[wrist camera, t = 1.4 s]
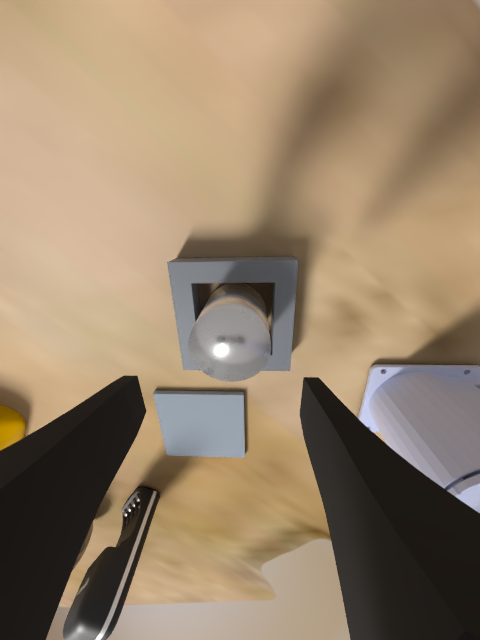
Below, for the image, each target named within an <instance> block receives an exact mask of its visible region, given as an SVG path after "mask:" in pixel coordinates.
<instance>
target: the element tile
mask: <svg viewBox="0 0 480 640" xmlns="http://www.w3.org/2000/svg"><path fill="white" fill-rule="evenodd" d="M25 430H26V423H25V420H24V419H23V417H22V416H21V415H20V414H18V413H17V412H15V411H14V410H12V409H10V408H8V407H5V406H3V405H0V451H1V450H3V449H4V448H6V447H8V446H10V445H12V444H14V443H15V442H17V441H19V440H21V439H23V438H24V435H25Z"/></svg>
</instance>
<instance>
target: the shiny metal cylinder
mask: <svg viewBox="0 0 480 640" xmlns="http://www.w3.org/2000/svg"><path fill="white" fill-rule="evenodd" d="M188 348H189V353H190V355H191V358H192V360H193V361H194V363H195V364H196V366H197V367H198V368H199V369H200V370H201V371H203V372H204V373H205V374H207V375H209V376H210V377H212V378H215V379H218V380H222V381H230V382H233V381H241V380H245V379H248V378H251V377H252V376H254V375H256V374H257V373H259V372H260V371H261V370H262V369H263V368H264V366H265V365H266V363H267V362H268V360H269V357H270V354H271V340H270V334H269V327H268V321H267V315H266V309H265V304H264V301H263V299H262V297H261V296H260V294H259V293H258V292H257V291H256V290H255V289H253V288H252V287H250V286H248V285H245V284H242V283H229V284H225V285H223V286H221V287H219V288H218V289H216V290H215V291H214V292H213V293H212V295H211V296H210V298H209V300H208V301H207V303H206V305H205V307H204V308H203V310H202V312H201V314H200V315H199V317H198V319H197V321H196V323H195V324H194V326H193V328H192V330H191V332H190V335H189V340H188Z"/></svg>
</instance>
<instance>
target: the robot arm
mask: <svg viewBox="0 0 480 640" xmlns="http://www.w3.org/2000/svg"><path fill="white" fill-rule="evenodd" d="M383 369H384V370H383ZM381 370H383V371H381ZM145 413H146V408H145V404H144V401H143V397H142V393H141V389H140V385H139V381H138V377H137V376H123V377H121V378H119V379H117V380H116V381H114V382H113V383H111V384H109V385H108V386H106V387H105V388H103V389H102V390H100V391H99V392H97V393H96V394H94V395H93V396H91V397H90V398H88V399H87V400H85V401H84V402H82V403H80V404H79V405H77V406H76V407H74V408H73V409H71V410H70V411H68V412H66V413H65V414H63V415H61V416H60V417H58V418H57V419H55V420H53V421H52V422H50V423H48V424H47V425H45V426H44V427H42V428H40V429H39V430H37V431H35V432H33V433H32V434H30V435H28V436H26V437H25V438H23V439H21V440H19V441H17V442H15V443H14V444H12V445H10V446H8V447H6V448H4V449H3V450H1V451H0V640H46V637H47V634H48V632H49V629H50V626H51V623H52V621H53V618H54V615H55V613H56V610H57V608H58V605H59V603H60V600H61V597H62V595H63V592H64V590H65V587H66V584H67V582H68V579H69V577H70V574H71V572H72V569H73V567H74V564H75V562H76V560H77V557H78V555H79V552H80V550H81V547H82V545H83V543H84V540H85V538H86V535H87V533H88V531H89V529H90V526H91V524H92V522H93V520H94V517H95V515H96V513H97V510H98V508H99V506H100V504H101V502H102V500H103V498H104V496H105V494H106V492H107V490H108V488H109V486H110V484H111V482H112V481H113V479H114V477H115V475H116V473H117V471H118V470H119V468H120V466H121V464H122V462H123V460H124V459H125V457H126V455H127V453H128V451H129V449H130V447H131V445H132V444H133V442H134V440H135V438H136V436H137V434H138V431H139V429H140V427H141V424H142V421H143V419H144V416H145ZM300 418H301V424H302V430H303V435H304V440H305V443H306V447H307V450H308V454H309V457H310V460H311V464H312V467H313V471H314V474H315V477H316V481H317V484H318V487H319V491H320V494H321V498H322V501H323V505H324V509H325V513H326V517H327V522H328V527H329V531H330V536H331V541H332V546H333V550H334V555H335V560H336V565H337V570H338V575H339V580H340V586H341V591H342V595H343V601H344V606H345V612H346V617H347V623H348V628H349V633H350V639H351V640H480V366H479V365H380V364H377V365H373V366H372V367H371V369H370V372H369V376H368V380H367V384H366V388H365V392H364V396H363V401H362V405H361V409H360V413H359V417H358V418H357V417H356V416H355V415H354V414H353V413H352V412H351V411H350V410H349V409H348V408H347V407H346V406H345V405H344V404H343V403H342V402H341V401H340V400H339V399H338V398H337V397H336V396H335V395H334V394H333V392H332V391H331V390H330V389H329V388H328V387H327V386H326V385H325V384H324V383H323V382H322V381H321V380H320V379H319V378H311V377H304V380H303V389H302V398H301V408H300ZM373 432H380V433H381V435H382V437H383V438H384V440H385V441H386V443H387V444H386V443H384V442H383V441H382V440H381V439H380V438H379V437H378V436H376V435H375V434H374V433H373Z"/></svg>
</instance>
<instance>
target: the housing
mask: <svg viewBox="0 0 480 640" xmlns="http://www.w3.org/2000/svg"><path fill="white" fill-rule="evenodd" d="M167 264H168V270H169V277H170V284H171V290H172V297H173V304H174V310H175V317H176V324H177V330H178V337H179V344H180V350H181V357H182V364H183V370H200V369H199V368H198V367H197V366H196V364H195V363H194V361H193V360H192V358H191V355H190V353H189V348H188V340H189V335H190V332H191V330H192V328H193V326H194V324H195V323H196V321H197V319H198V317H199V315H200V314H201V310H200V300H199V290H198V283H264V282H273V285H272V315H271V354H270V357H269V360H268V362H267V363H266V365H265V366H264V368H263V369H262V370H261V371H290V364H291V351H292V338H293V325H294V312H295V299H296V286H297V273H298V259H296V258H295V257H294V256H273V257H219V258H176V259H174V260H172V261H169V262H167Z"/></svg>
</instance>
